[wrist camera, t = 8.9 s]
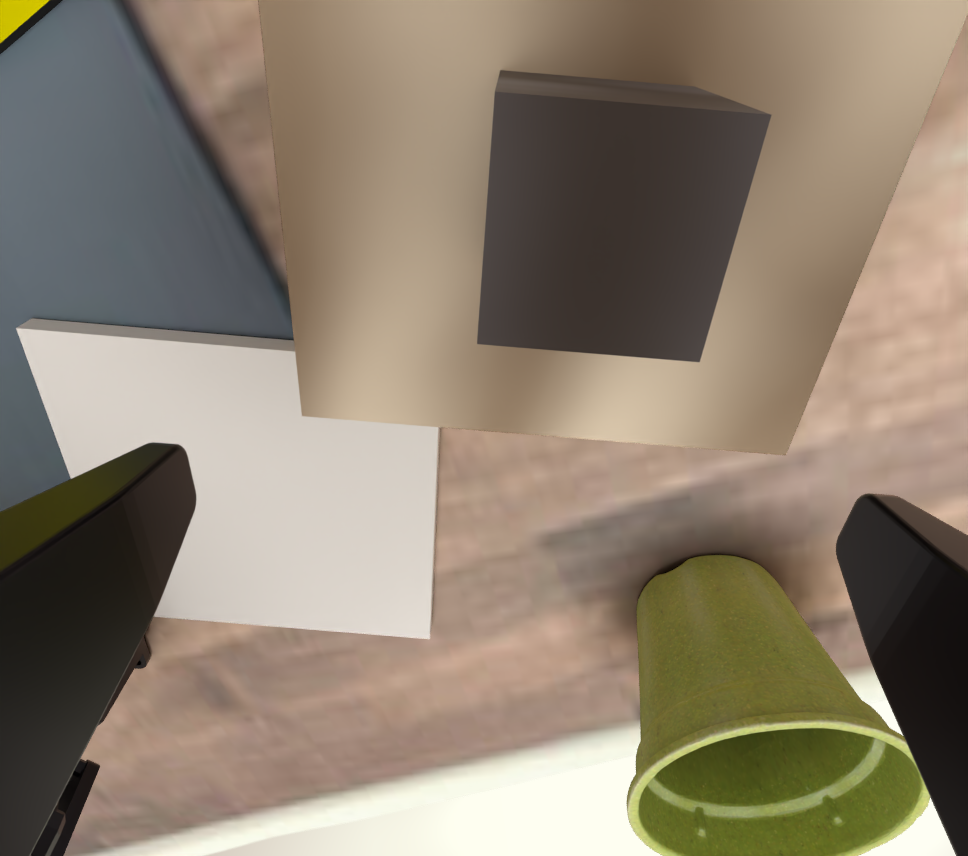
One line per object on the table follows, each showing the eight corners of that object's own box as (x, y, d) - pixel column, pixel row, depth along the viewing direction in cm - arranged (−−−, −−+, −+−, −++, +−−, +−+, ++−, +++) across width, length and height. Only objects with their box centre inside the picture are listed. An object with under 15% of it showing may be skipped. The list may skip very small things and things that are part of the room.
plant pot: (616, 513, 25) (659, 715, 18) (853, 527, 25) (993, 737, 18) (584, 661, 30) (607, 865, 23) (780, 674, 30) (866, 882, 23)
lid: (310, 400, 16) (243, 525, 12) (247, -277, 10) (53, -493, 6) (774, 437, 16) (860, 575, 12) (1028, -209, 10) (1397, -373, 6)
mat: (129, 600, 29) (120, 614, 28) (31, 318, 21) (16, 328, 21) (431, 624, 29) (429, 639, 28) (443, 353, 21) (441, 364, 21)
